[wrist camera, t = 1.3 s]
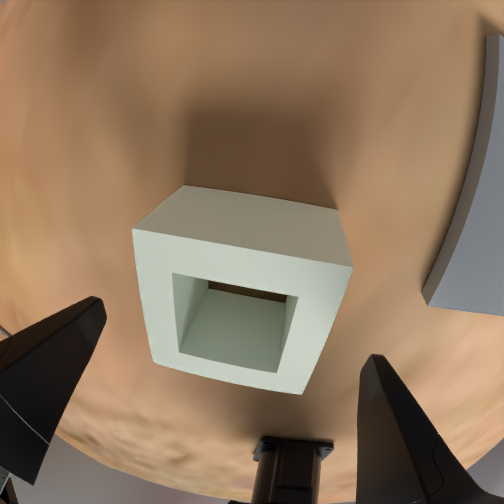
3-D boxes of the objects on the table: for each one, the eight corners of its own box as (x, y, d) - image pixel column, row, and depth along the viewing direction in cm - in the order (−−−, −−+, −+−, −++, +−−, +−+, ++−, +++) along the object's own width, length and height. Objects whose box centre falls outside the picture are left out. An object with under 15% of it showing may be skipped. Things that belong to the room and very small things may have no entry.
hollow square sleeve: (305, 325, 13) (301, 394, 10) (185, 302, 14) (153, 362, 11) (338, 209, 10) (353, 267, 7) (183, 185, 11) (131, 228, 7)
